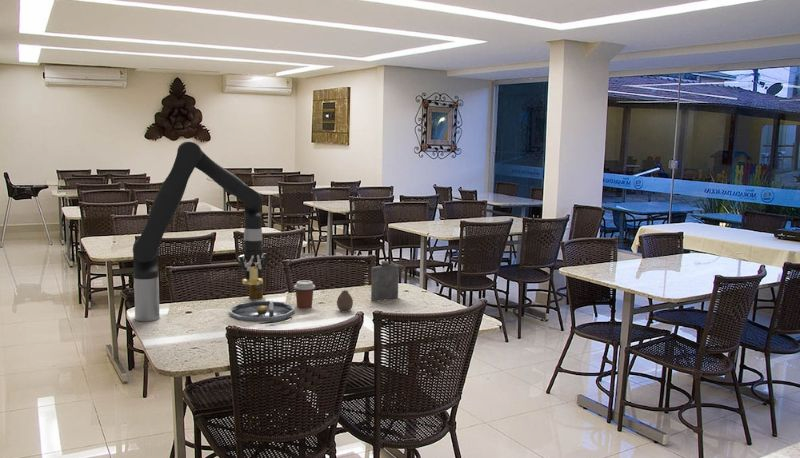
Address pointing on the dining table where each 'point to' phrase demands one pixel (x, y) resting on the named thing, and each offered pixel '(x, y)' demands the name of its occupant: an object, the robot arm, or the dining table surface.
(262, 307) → the tray
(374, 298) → the flask
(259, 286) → the condiment
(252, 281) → the planet gear
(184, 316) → the dining table surface
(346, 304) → the brown rounded lump
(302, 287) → the coffee cup
